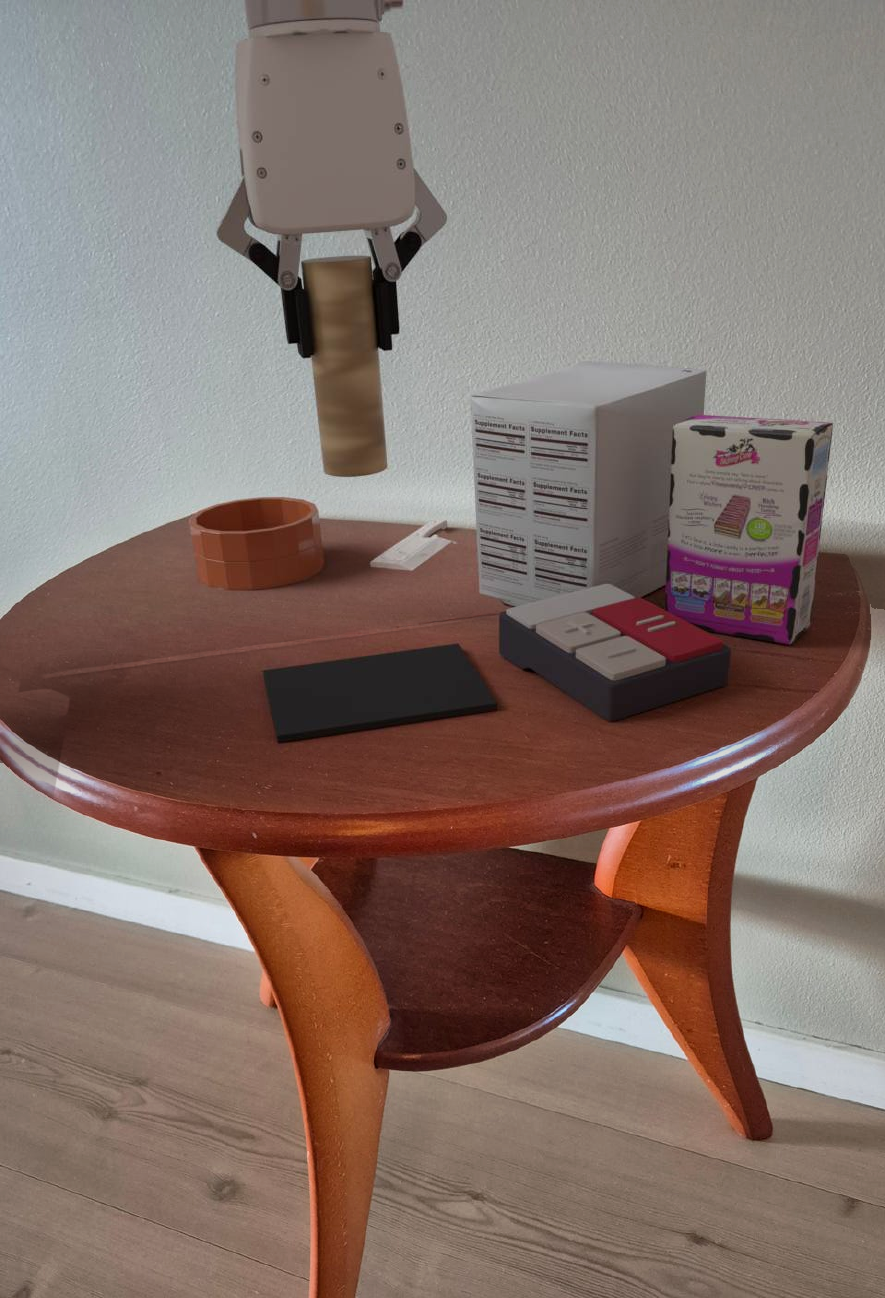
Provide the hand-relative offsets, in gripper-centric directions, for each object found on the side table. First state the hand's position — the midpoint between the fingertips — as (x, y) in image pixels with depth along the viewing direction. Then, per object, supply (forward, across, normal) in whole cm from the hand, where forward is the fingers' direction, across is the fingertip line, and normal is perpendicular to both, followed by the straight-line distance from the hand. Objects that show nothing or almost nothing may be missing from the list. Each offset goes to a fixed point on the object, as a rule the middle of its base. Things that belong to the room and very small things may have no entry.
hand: (344, 348), depth 71 cm
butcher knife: (+25, -11, -33) cm, 43 cm away
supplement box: (+25, -23, -17) cm, 38 cm away
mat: (+25, 0, 0) cm, 25 cm away
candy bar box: (+25, -31, -3) cm, 40 cm away
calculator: (+25, -18, +2) cm, 31 cm away
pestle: (+8, 0, 0) cm, 8 cm away
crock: (+25, +6, -32) cm, 41 cm away
